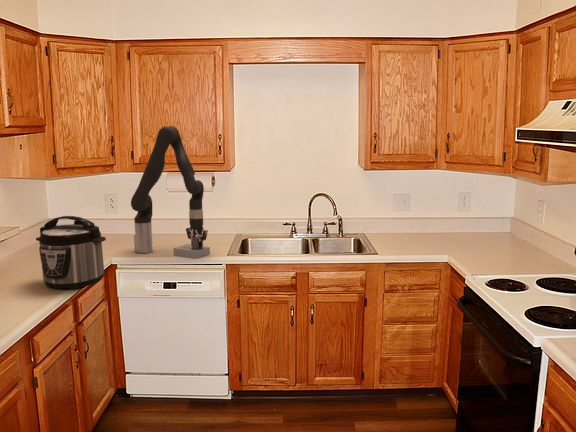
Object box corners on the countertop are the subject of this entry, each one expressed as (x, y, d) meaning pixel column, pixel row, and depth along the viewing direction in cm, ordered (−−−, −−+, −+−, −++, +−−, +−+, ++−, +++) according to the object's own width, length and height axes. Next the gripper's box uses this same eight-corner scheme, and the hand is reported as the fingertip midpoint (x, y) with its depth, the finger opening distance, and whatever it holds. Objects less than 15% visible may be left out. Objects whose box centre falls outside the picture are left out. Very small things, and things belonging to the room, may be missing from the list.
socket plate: (173, 255, 314) (173, 247, 313) (187, 250, 324) (187, 243, 323) (196, 258, 306) (196, 251, 305) (209, 253, 316) (209, 246, 315)
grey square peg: (192, 251, 312) (191, 237, 310) (197, 250, 315) (196, 236, 314) (198, 252, 310) (197, 238, 308) (202, 251, 313) (202, 236, 312)
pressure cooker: (30, 282, 266) (24, 216, 260) (87, 269, 286) (82, 208, 280) (57, 296, 245) (51, 225, 239) (116, 282, 265) (112, 216, 259)
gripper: (181, 216, 309) (182, 247, 313) (202, 219, 302) (203, 250, 306) (190, 214, 316) (191, 244, 319) (210, 217, 309) (211, 247, 312)
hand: (197, 247), depth 312 cm, fingers open, 4 cm apart
